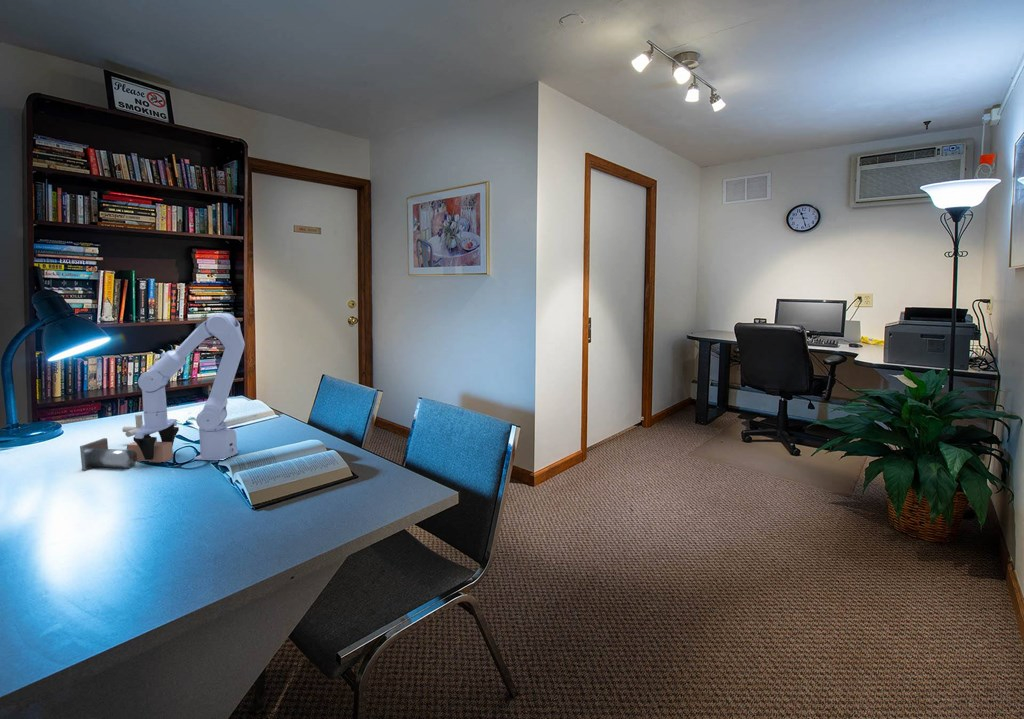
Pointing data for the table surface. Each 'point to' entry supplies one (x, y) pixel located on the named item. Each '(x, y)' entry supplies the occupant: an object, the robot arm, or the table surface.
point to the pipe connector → (131, 430)
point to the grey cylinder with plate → (105, 456)
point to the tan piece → (161, 451)
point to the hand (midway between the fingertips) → (158, 455)
